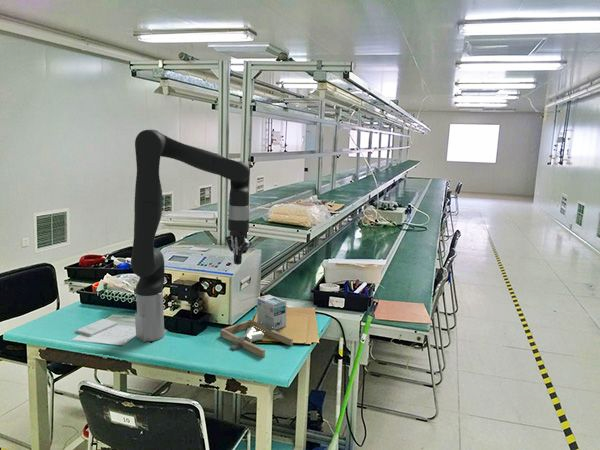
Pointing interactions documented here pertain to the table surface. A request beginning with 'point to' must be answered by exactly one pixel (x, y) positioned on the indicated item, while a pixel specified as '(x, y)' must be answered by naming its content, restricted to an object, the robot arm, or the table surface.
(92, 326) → the external hard drive
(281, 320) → the light bulb box
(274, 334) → the wooden frame
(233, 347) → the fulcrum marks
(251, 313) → the table surface
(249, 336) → the pipe fitting
